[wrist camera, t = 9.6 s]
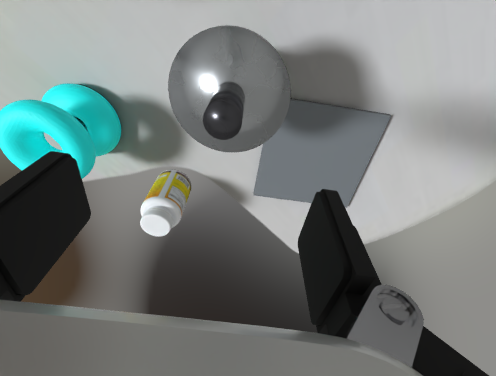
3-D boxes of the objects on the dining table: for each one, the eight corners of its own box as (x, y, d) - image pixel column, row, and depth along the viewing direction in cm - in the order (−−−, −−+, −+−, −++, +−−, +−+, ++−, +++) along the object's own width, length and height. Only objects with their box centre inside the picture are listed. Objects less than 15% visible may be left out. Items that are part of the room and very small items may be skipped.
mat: (272, 95, 33) (273, 97, 33) (389, 114, 34) (391, 115, 34) (253, 193, 42) (253, 195, 42) (345, 205, 43) (346, 207, 43)
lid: (167, 15, 20) (133, 17, 15) (302, 36, 21) (320, 45, 15) (173, 141, 26) (151, 176, 21) (277, 154, 27) (282, 192, 22)
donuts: (63, 202, 32) (-26, 148, 28) (103, 162, 40) (38, 116, 36) (103, 153, 28) (4, 82, 24) (138, 120, 36) (69, 63, 32)
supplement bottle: (156, 191, 43) (132, 235, 34) (159, 164, 40) (133, 205, 31) (189, 199, 44) (173, 244, 35) (194, 173, 40) (178, 215, 32)
